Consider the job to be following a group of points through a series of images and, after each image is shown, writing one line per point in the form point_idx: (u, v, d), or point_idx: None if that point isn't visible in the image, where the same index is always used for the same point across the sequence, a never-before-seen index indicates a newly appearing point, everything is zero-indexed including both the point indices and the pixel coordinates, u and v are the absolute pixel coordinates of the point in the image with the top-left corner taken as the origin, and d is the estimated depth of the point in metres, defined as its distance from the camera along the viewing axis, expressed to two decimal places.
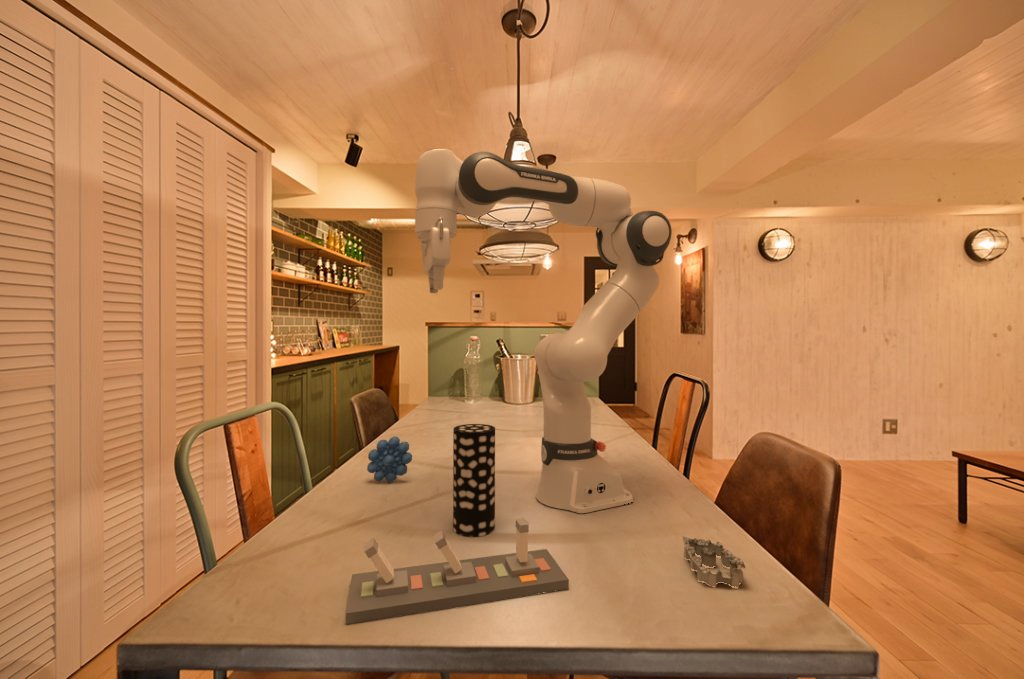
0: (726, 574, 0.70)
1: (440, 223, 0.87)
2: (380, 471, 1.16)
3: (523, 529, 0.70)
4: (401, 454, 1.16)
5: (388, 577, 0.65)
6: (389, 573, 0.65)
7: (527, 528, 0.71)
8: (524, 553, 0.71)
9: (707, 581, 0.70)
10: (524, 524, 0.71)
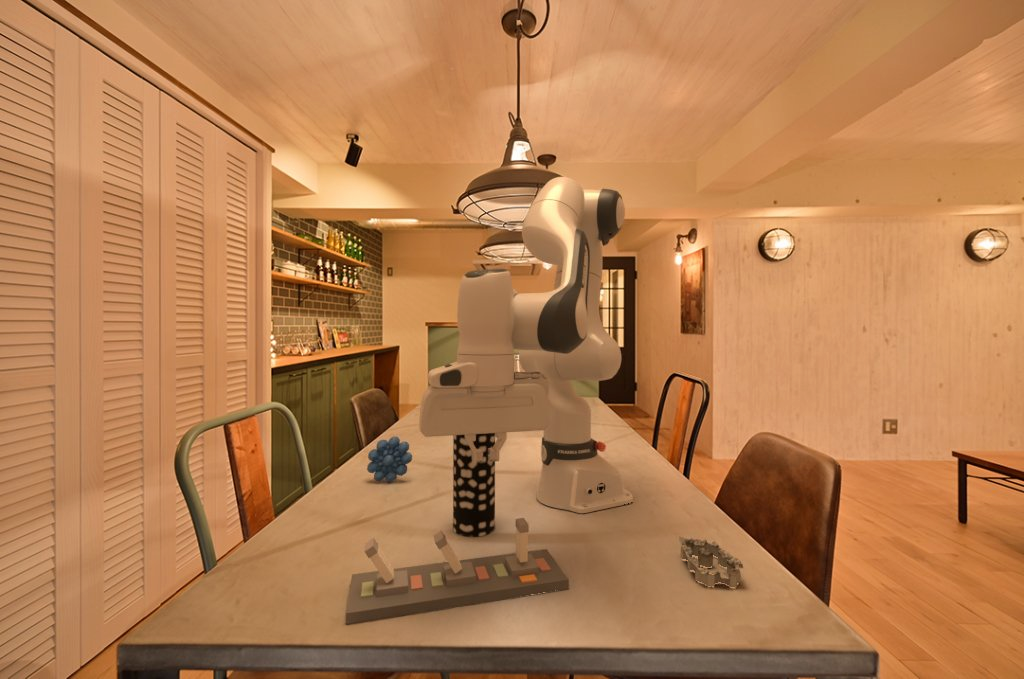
0: (724, 574, 0.69)
1: (548, 381, 0.72)
2: (380, 471, 1.16)
3: (523, 529, 0.70)
4: (401, 454, 1.16)
5: (388, 577, 0.65)
6: (389, 573, 0.65)
7: (527, 528, 0.71)
8: (524, 553, 0.71)
9: (705, 582, 0.70)
10: (524, 524, 0.71)
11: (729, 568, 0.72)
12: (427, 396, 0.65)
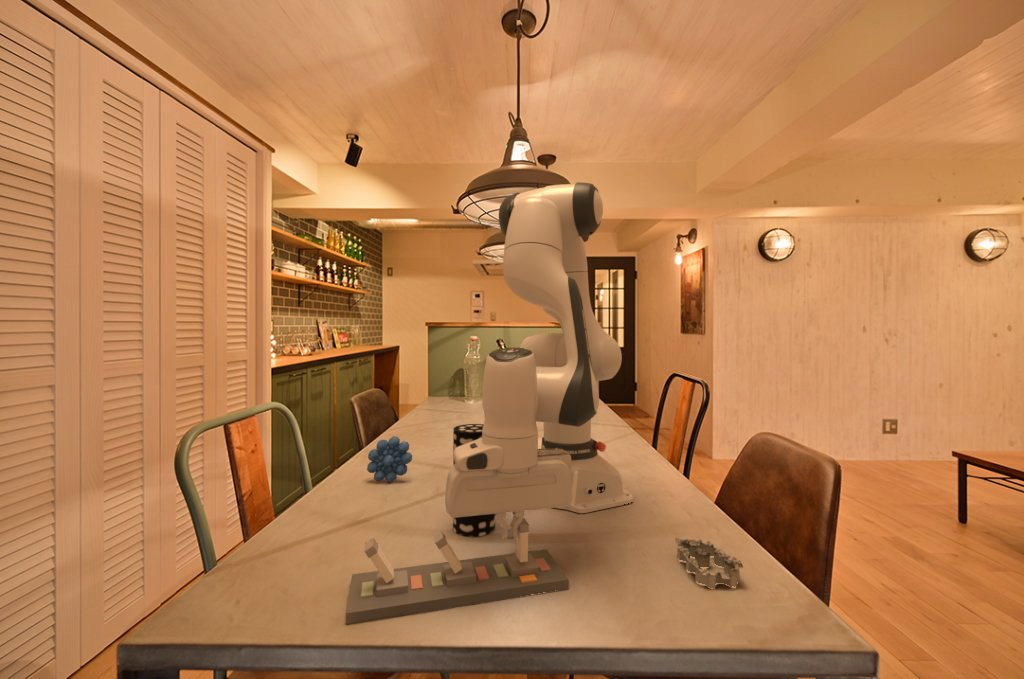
0: (724, 575, 0.69)
1: (570, 456, 0.74)
2: (380, 471, 1.16)
3: (524, 529, 0.70)
4: (401, 454, 1.16)
5: (388, 577, 0.65)
6: (389, 573, 0.65)
7: (527, 528, 0.71)
8: (524, 553, 0.71)
9: (706, 583, 0.69)
10: (524, 524, 0.71)
11: (727, 568, 0.72)
12: (454, 479, 0.67)
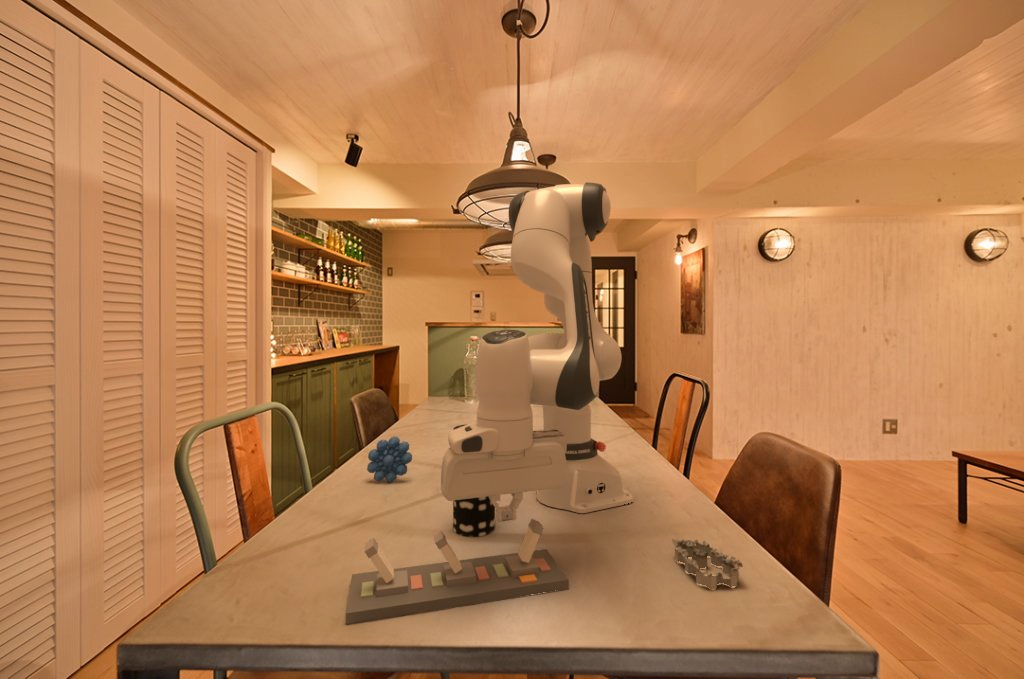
0: (725, 575, 0.69)
1: (565, 438, 0.73)
2: (380, 471, 1.16)
3: (538, 530, 0.71)
4: (401, 454, 1.16)
5: (388, 577, 0.65)
6: (389, 573, 0.65)
7: (541, 531, 0.71)
8: (529, 554, 0.71)
9: (708, 584, 0.69)
10: (540, 526, 0.71)
11: (726, 567, 0.72)
12: (449, 462, 0.66)
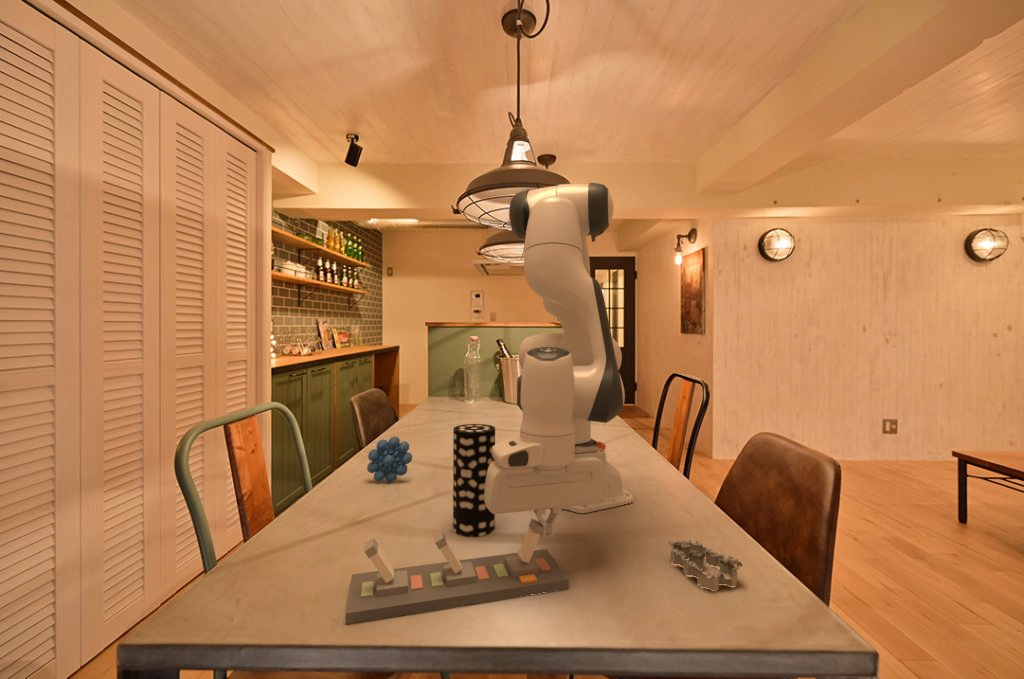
0: (726, 575, 0.69)
1: (605, 454, 0.75)
2: (380, 471, 1.16)
3: (538, 530, 0.71)
4: (401, 454, 1.16)
5: (388, 577, 0.65)
6: (389, 573, 0.65)
7: (541, 531, 0.71)
8: (529, 554, 0.71)
9: (710, 586, 0.69)
10: (540, 526, 0.71)
11: (724, 567, 0.72)
12: (496, 476, 0.68)
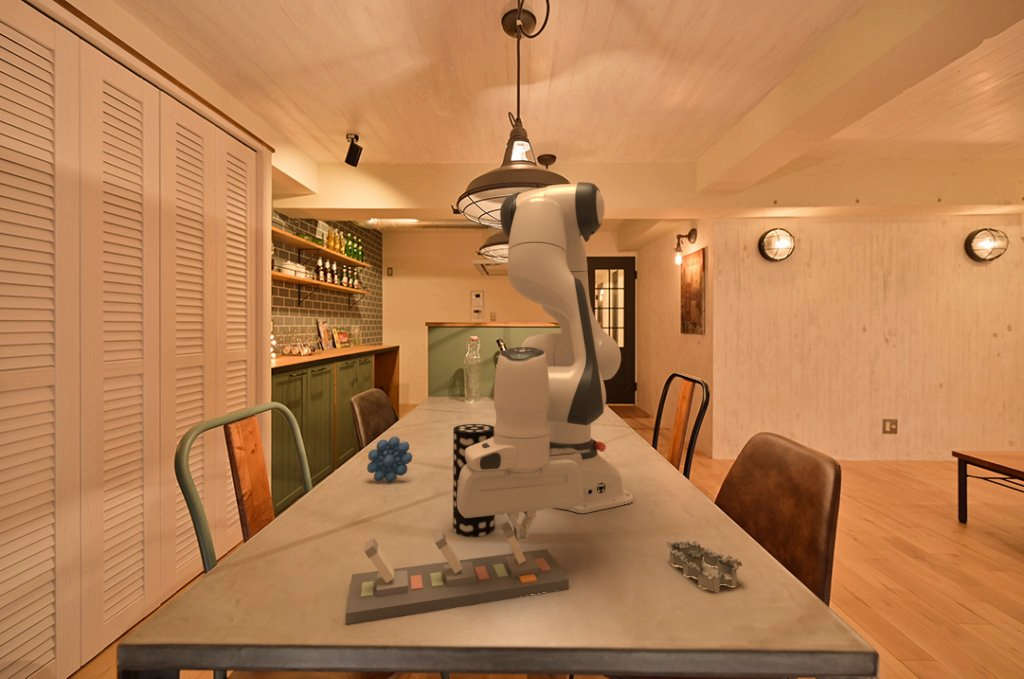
0: (726, 575, 0.69)
1: (581, 456, 0.74)
2: (380, 471, 1.16)
3: (509, 534, 0.70)
4: (401, 454, 1.16)
5: (388, 577, 0.65)
6: (389, 573, 0.65)
7: (512, 532, 0.70)
8: (519, 554, 0.70)
9: (711, 586, 0.68)
10: (508, 529, 0.70)
11: (723, 567, 0.72)
12: (467, 479, 0.66)
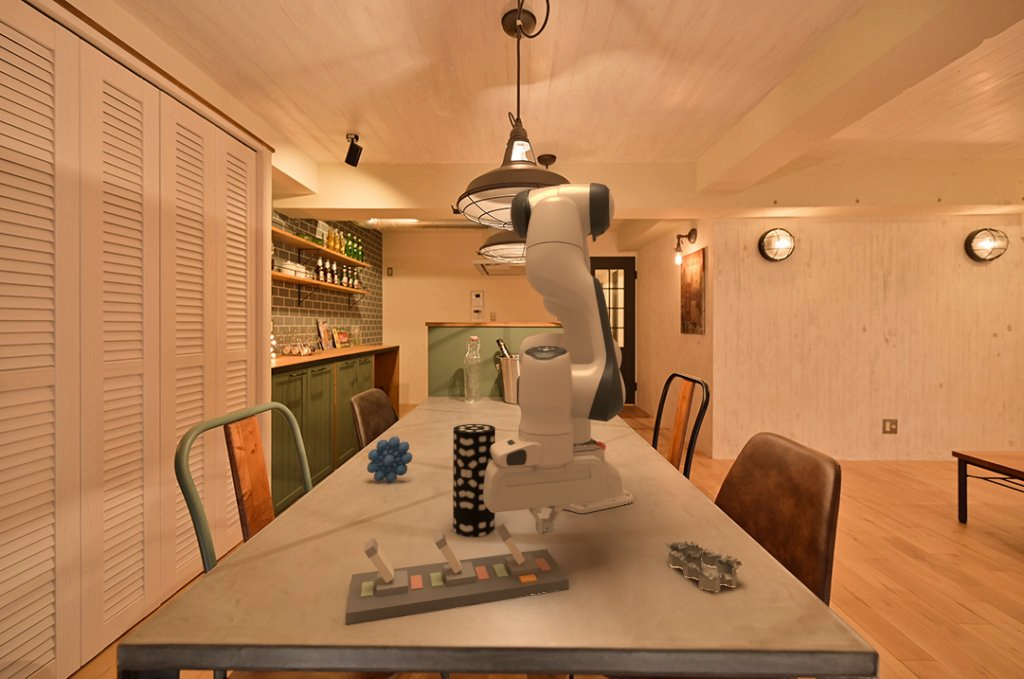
0: (726, 575, 0.69)
1: (603, 452, 0.75)
2: (380, 471, 1.16)
3: (505, 536, 0.70)
4: (401, 454, 1.16)
5: (388, 577, 0.65)
6: (389, 573, 0.65)
7: (508, 534, 0.70)
8: (518, 555, 0.70)
9: (711, 587, 0.68)
10: (503, 532, 0.70)
11: (722, 567, 0.72)
12: (494, 475, 0.68)
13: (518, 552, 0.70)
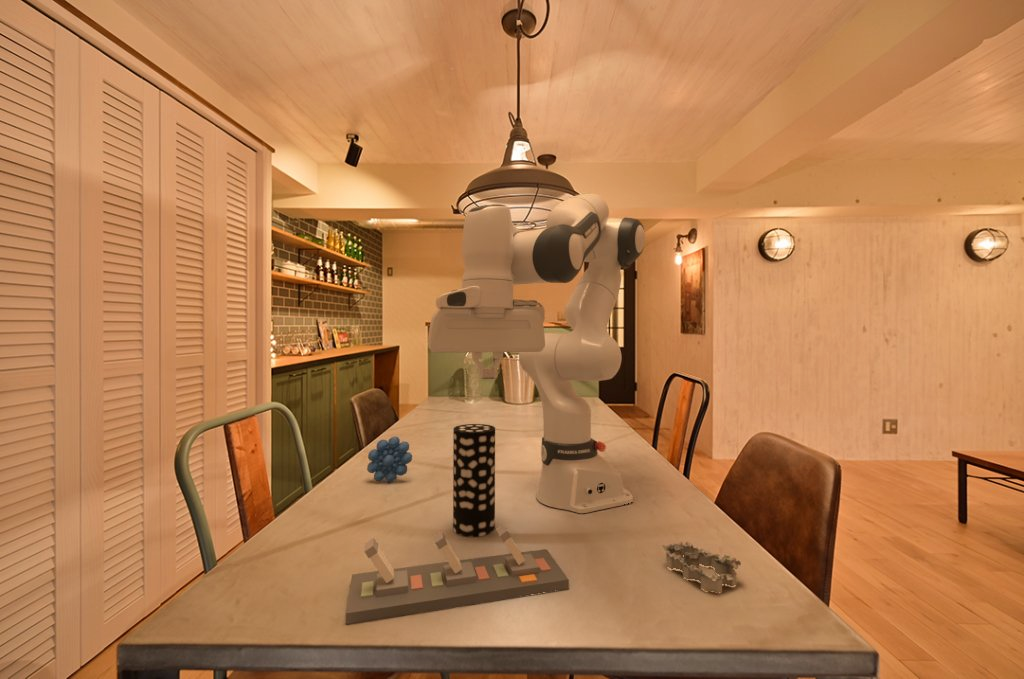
0: (727, 576, 0.69)
1: (543, 309, 0.80)
2: (380, 471, 1.16)
3: (505, 537, 0.70)
4: (401, 454, 1.16)
5: (388, 577, 0.65)
6: (389, 573, 0.65)
7: (508, 534, 0.70)
8: (518, 555, 0.70)
9: (714, 588, 0.68)
10: (503, 532, 0.70)
11: (721, 567, 0.72)
12: (436, 315, 0.73)
13: (518, 552, 0.70)
